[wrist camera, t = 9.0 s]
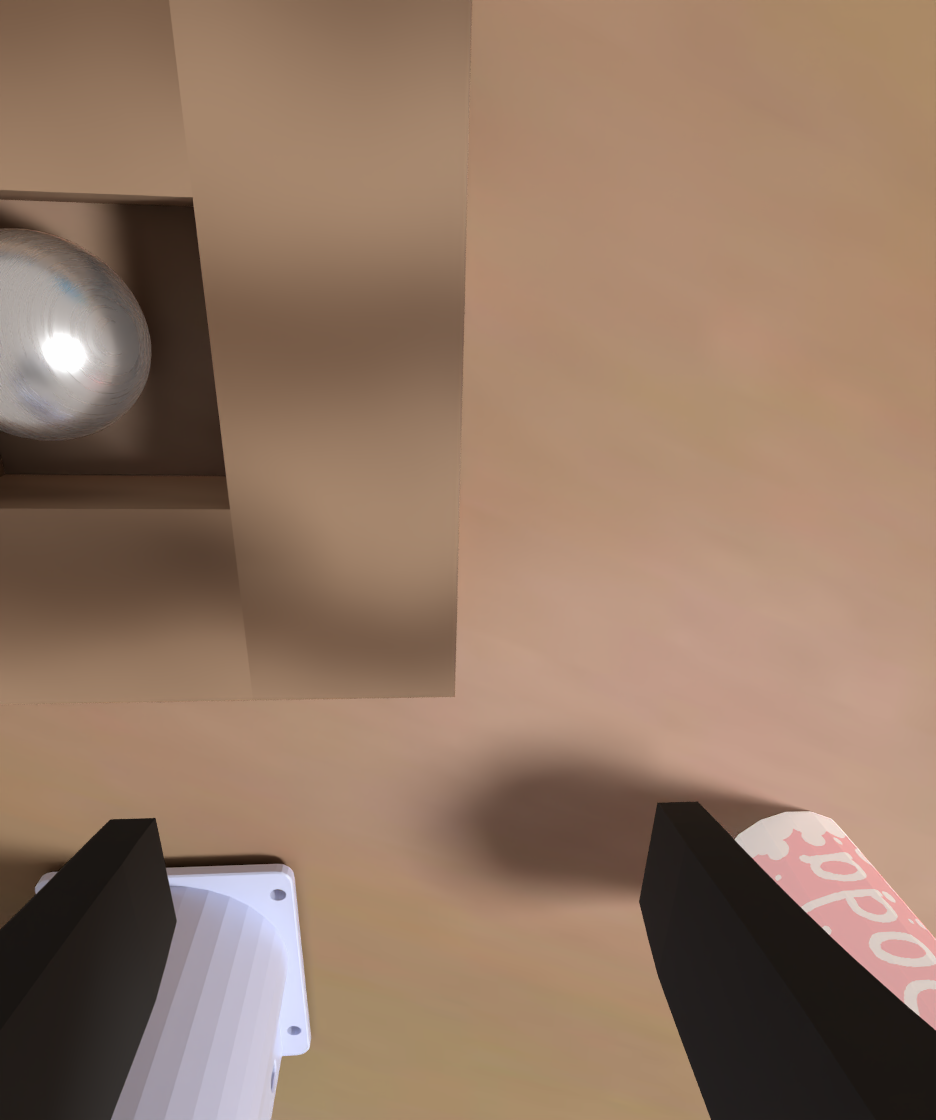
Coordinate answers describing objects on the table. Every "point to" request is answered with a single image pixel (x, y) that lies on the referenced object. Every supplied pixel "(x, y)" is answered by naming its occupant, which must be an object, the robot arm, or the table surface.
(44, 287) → the steel ball
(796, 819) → the beverage cup
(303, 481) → the wooden square frame
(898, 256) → the table surface
